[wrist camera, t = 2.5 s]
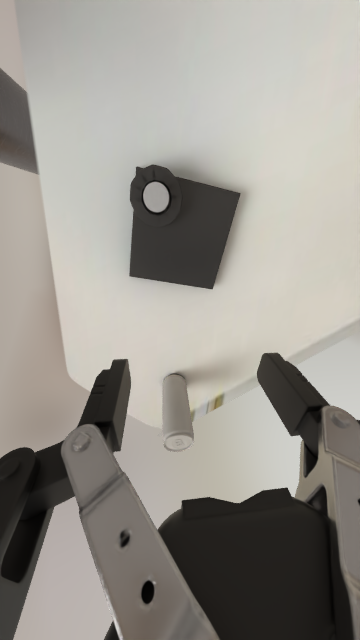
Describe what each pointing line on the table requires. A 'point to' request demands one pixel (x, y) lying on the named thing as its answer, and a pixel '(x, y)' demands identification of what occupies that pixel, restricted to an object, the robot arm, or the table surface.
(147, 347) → the table surface
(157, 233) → the scale
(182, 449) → the beverage can
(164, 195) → the button
